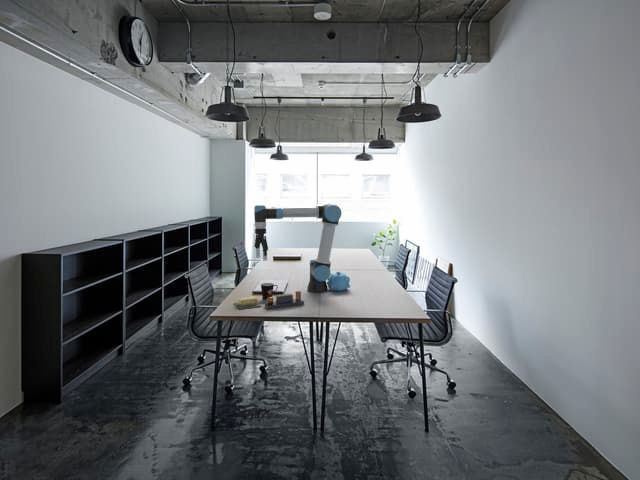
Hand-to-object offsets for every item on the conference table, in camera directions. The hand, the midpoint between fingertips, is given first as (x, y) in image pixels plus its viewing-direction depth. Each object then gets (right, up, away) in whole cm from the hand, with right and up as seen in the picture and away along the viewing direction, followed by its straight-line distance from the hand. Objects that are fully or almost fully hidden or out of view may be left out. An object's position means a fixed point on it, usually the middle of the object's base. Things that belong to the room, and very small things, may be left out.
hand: (261, 259), depth 257 cm
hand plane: (+17, -29, -17) cm, 38 cm away
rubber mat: (-6, -29, -17) cm, 34 cm away
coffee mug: (+6, -27, -1) cm, 28 cm away
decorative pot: (+54, -24, +26) cm, 64 cm away
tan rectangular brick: (-6, -28, -17) cm, 33 cm away
